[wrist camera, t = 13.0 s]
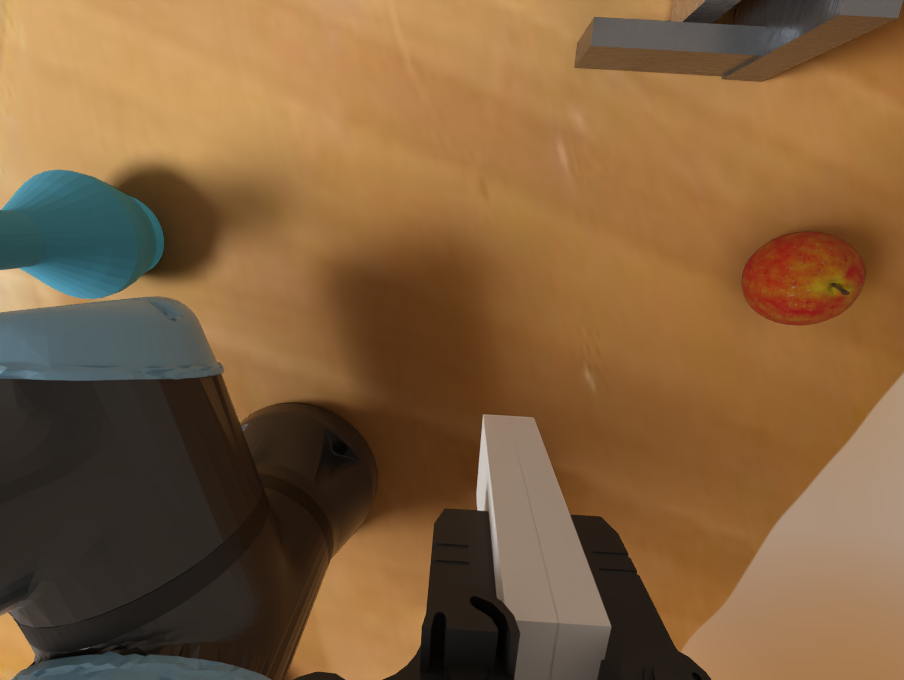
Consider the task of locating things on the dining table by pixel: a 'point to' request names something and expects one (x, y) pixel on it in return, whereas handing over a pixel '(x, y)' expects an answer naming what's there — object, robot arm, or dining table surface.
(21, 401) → the robot arm
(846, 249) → the fruit
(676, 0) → the grey rectangular block
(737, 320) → the dining table surface
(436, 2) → the dining table surface
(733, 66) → the gauge base
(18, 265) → the perfume bottle
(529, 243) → the dining table surface
